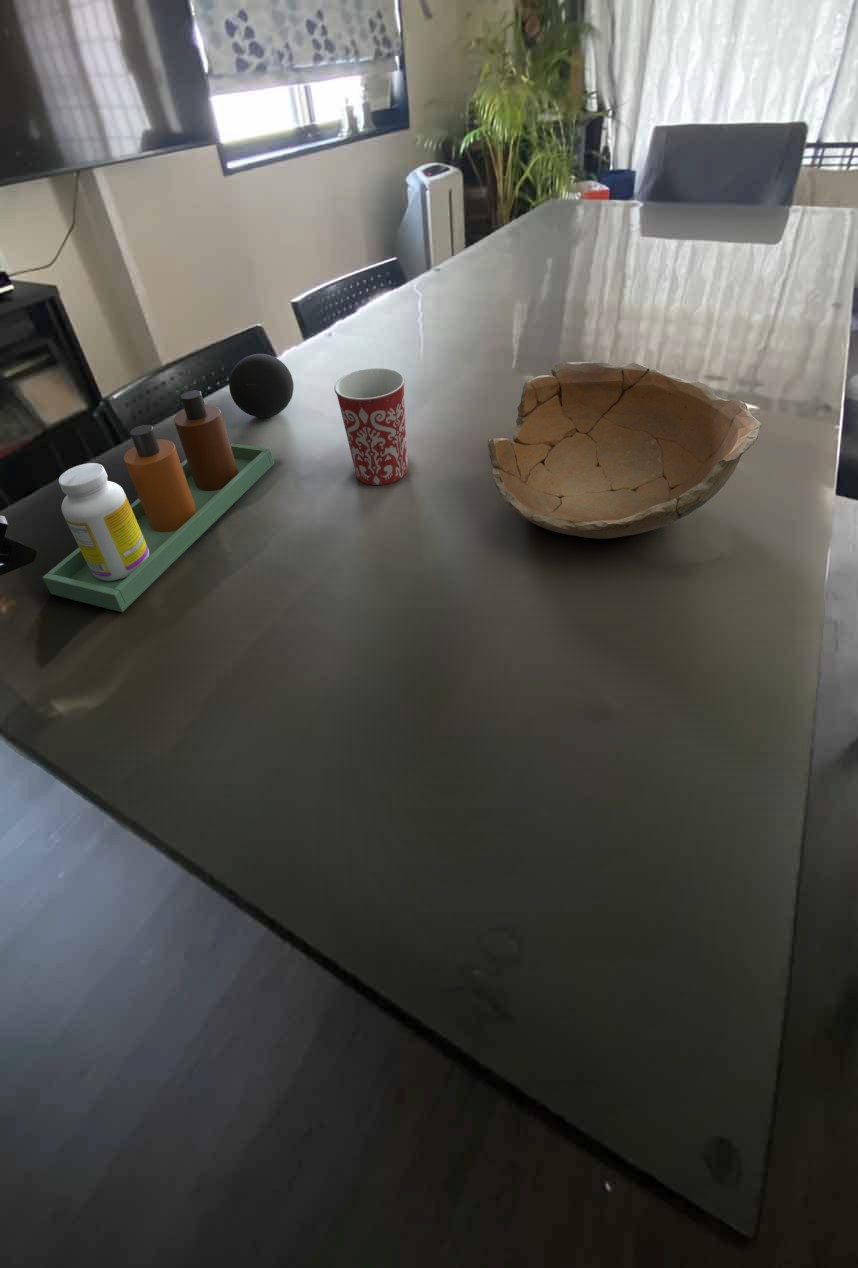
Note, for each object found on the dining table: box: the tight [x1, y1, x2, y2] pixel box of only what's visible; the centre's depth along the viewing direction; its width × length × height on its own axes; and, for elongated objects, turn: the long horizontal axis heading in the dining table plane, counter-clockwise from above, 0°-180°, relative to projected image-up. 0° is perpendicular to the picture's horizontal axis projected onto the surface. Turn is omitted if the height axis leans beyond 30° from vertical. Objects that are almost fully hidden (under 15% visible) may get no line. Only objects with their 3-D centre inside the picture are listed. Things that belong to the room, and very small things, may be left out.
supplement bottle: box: [58, 462, 149, 581], centre depth 77 cm, size 7×7×13 cm
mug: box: [333, 367, 409, 486], centre depth 92 cm, size 13×9×14 cm
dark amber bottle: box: [173, 389, 238, 491], centre depth 91 cm, size 6×6×13 cm
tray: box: [42, 442, 275, 613], centre depth 88 cm, size 32×11×3 cm, turn 159°
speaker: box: [228, 353, 295, 418], centre depth 109 cm, size 10×10×10 cm
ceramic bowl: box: [487, 361, 763, 539], centre depth 82 cm, size 30×27×15 cm
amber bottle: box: [123, 424, 197, 532], centre depth 84 cm, size 6×6×13 cm
